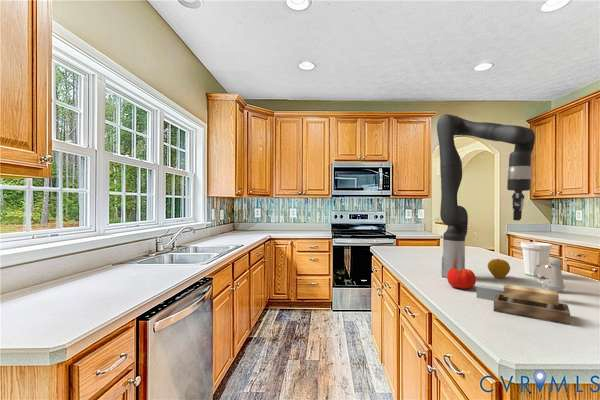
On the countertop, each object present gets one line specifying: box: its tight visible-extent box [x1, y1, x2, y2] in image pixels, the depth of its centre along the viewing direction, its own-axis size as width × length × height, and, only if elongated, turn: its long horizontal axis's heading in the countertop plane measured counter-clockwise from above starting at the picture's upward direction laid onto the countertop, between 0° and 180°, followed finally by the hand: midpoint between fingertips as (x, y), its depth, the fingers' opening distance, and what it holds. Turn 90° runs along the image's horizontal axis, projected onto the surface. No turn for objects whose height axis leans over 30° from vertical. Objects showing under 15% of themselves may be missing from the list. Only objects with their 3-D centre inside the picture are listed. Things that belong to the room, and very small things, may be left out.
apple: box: [487, 258, 511, 279], centre depth 150 cm, size 9×9×9 cm
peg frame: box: [493, 293, 571, 326], centre depth 103 cm, size 19×10×4 cm, turn 54°
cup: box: [520, 241, 553, 278], centre depth 155 cm, size 12×12×15 cm
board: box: [503, 283, 560, 305], centre depth 103 cm, size 14×5×3 cm, turn 54°
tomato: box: [446, 268, 477, 290], centre depth 133 cm, size 11×11×8 cm
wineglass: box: [533, 265, 554, 290], centre depth 118 cm, size 6×6×12 cm
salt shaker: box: [545, 257, 565, 294], centre depth 128 cm, size 6×6×13 cm
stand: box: [476, 283, 504, 301], centre depth 117 cm, size 12×4×4 cm, turn 54°
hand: (517, 219), depth 126 cm, fingers open, 8 cm apart
